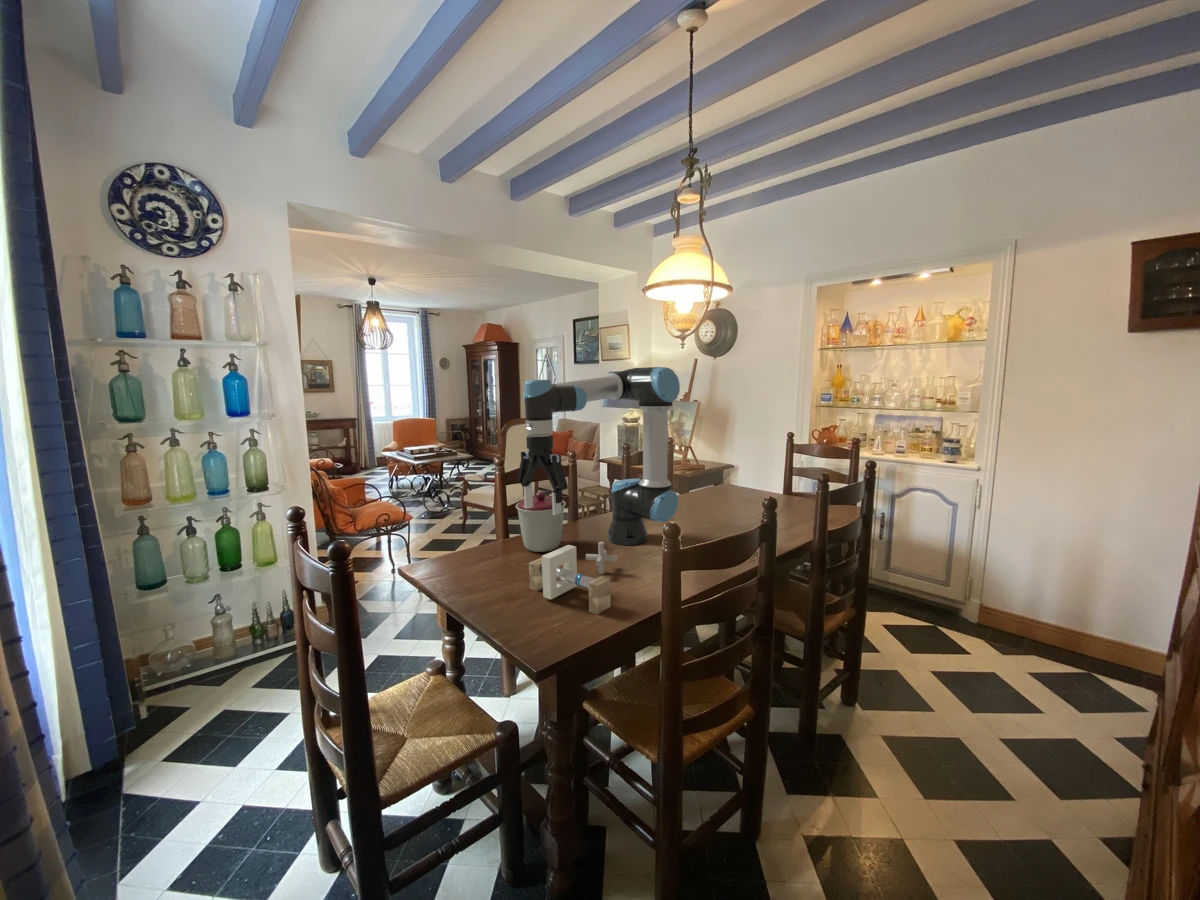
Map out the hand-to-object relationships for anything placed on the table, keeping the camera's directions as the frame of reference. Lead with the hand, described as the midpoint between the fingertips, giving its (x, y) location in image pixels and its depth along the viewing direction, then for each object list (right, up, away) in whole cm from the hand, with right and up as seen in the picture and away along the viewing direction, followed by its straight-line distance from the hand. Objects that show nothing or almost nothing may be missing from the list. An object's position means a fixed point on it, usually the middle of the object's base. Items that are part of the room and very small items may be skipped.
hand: (542, 510), depth 137 cm
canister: (-5, -19, +38) cm, 43 cm away
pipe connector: (+17, -22, +14) cm, 31 cm away
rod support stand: (+8, -24, -2) cm, 26 cm away
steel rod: (+8, -20, -3) cm, 21 cm away
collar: (+5, -23, 0) cm, 24 cm away
